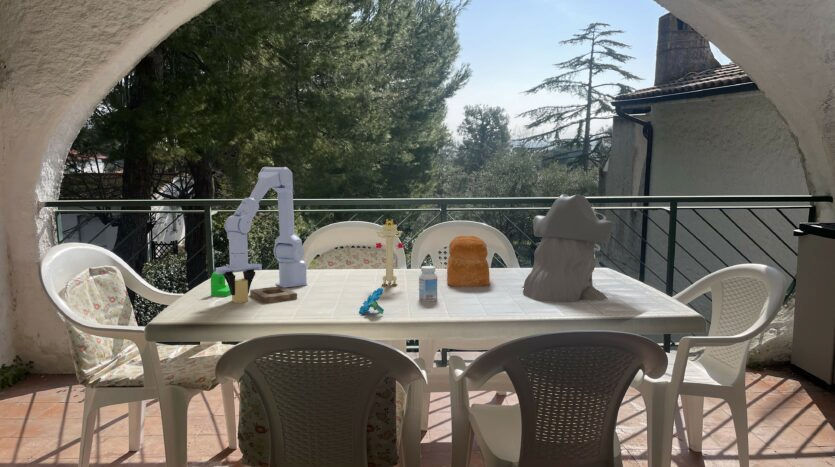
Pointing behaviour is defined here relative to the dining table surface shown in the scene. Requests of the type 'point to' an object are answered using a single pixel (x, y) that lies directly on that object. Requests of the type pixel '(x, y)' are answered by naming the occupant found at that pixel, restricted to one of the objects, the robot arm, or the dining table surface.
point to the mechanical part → (219, 285)
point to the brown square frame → (273, 294)
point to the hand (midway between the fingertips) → (239, 293)
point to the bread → (467, 262)
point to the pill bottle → (428, 284)
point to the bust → (567, 252)
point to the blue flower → (372, 302)
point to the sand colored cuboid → (240, 291)
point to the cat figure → (389, 249)
